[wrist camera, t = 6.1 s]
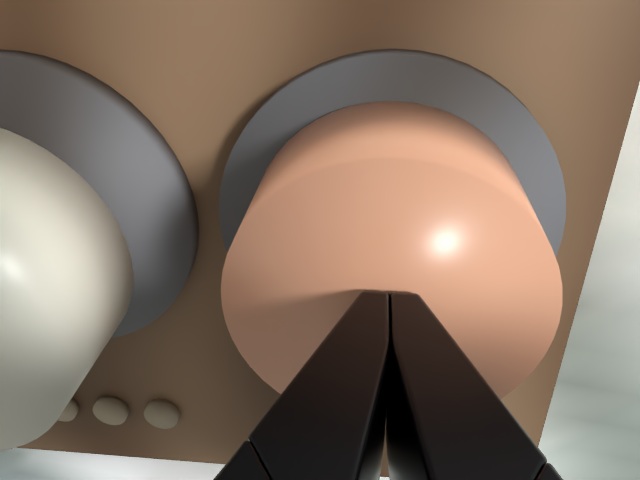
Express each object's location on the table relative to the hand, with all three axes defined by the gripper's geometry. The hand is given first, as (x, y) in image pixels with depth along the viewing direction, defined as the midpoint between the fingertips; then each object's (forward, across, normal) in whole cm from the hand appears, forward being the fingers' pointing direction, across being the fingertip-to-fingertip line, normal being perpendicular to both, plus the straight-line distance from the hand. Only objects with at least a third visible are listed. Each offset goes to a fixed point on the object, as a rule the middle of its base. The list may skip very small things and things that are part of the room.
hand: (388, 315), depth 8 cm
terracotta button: (+2, 0, 0) cm, 2 cm away
